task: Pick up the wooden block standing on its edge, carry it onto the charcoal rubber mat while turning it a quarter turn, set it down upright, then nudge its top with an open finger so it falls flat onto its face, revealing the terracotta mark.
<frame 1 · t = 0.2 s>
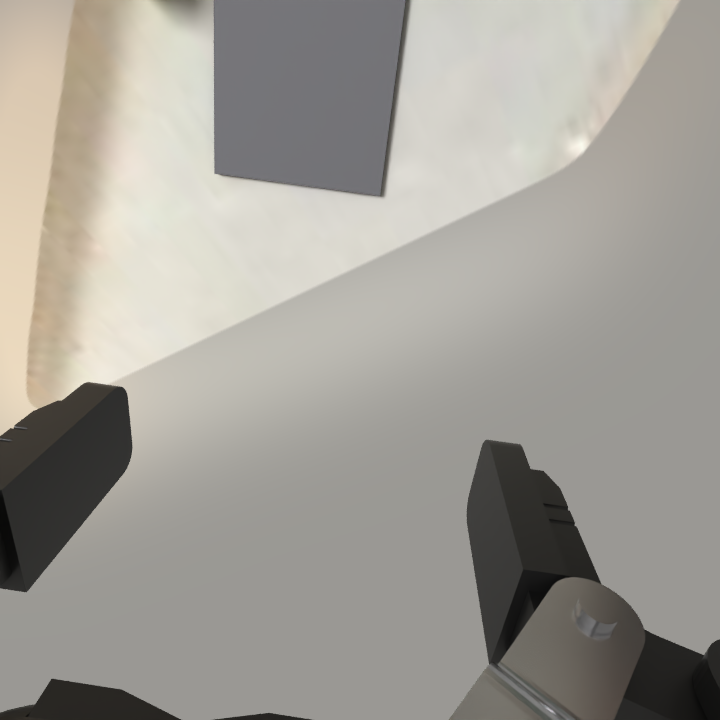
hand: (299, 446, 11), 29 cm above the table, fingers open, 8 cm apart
mat: (308, 20, 32), on the table
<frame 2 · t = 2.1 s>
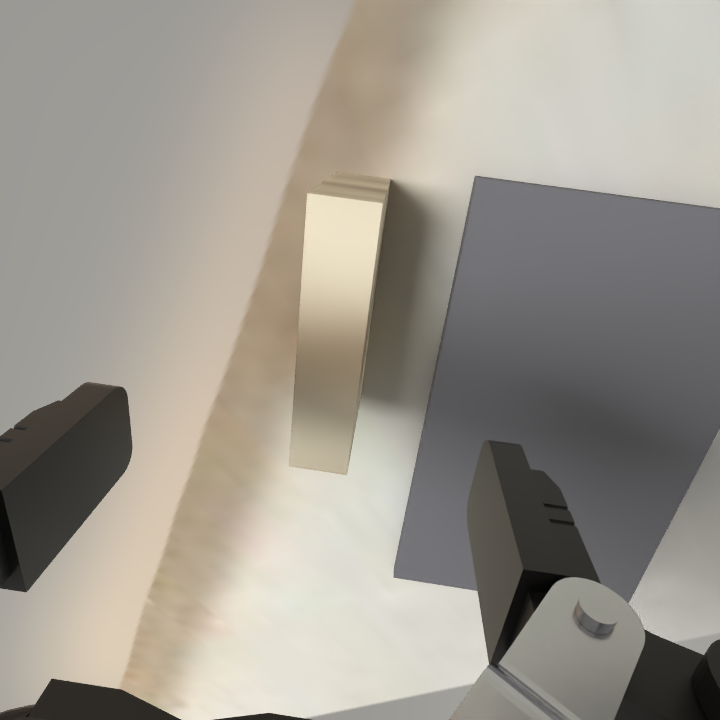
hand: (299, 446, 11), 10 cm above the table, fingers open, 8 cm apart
wooden block: (350, 291, 20), on the table
mat: (560, 430, 22), on the table
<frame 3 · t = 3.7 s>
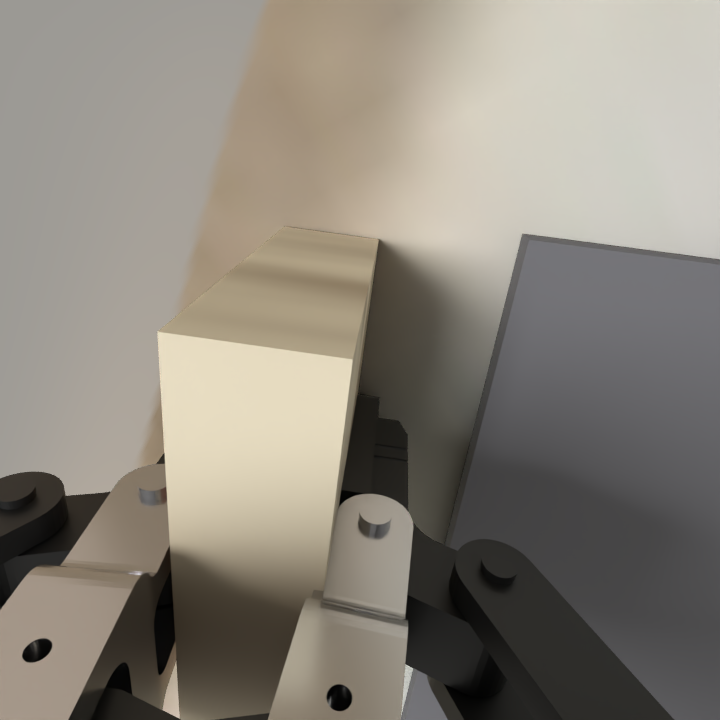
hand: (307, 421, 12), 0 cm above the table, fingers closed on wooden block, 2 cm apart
wooden block: (314, 415, 12), on the table, touching gripper
mat: (644, 613, 14), on the table
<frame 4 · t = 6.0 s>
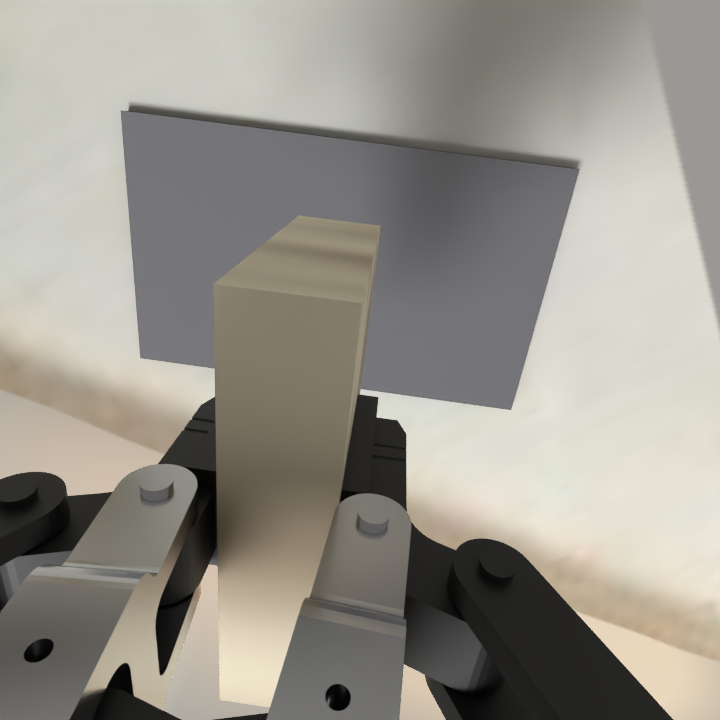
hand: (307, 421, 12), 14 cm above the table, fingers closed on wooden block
wooden block: (324, 384, 14), point 12 cm above the table, touching gripper
mat: (336, 271, 25), on the table
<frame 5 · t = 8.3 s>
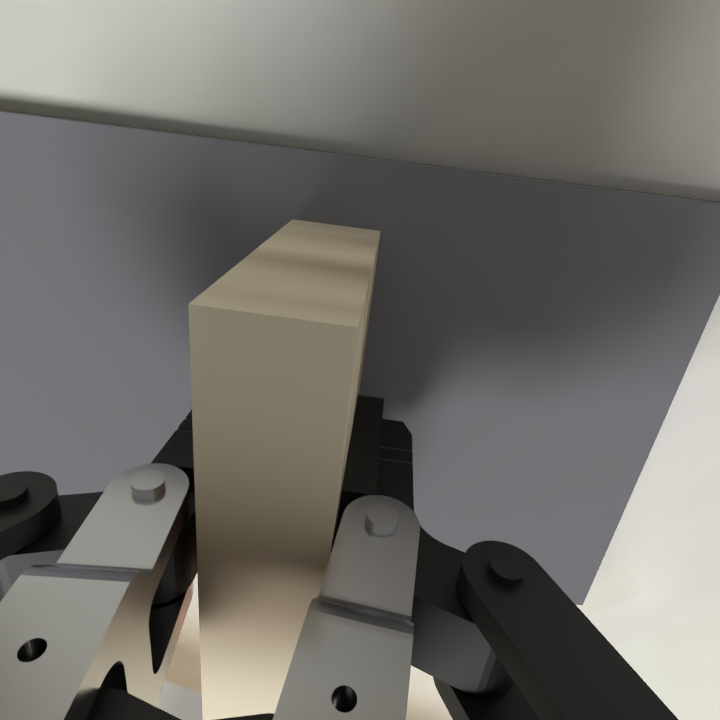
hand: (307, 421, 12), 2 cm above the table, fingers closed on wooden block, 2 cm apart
wooden block: (320, 398, 13), point 1 cm above the table, touching gripper, mat
mat: (277, 382, 14), on the table
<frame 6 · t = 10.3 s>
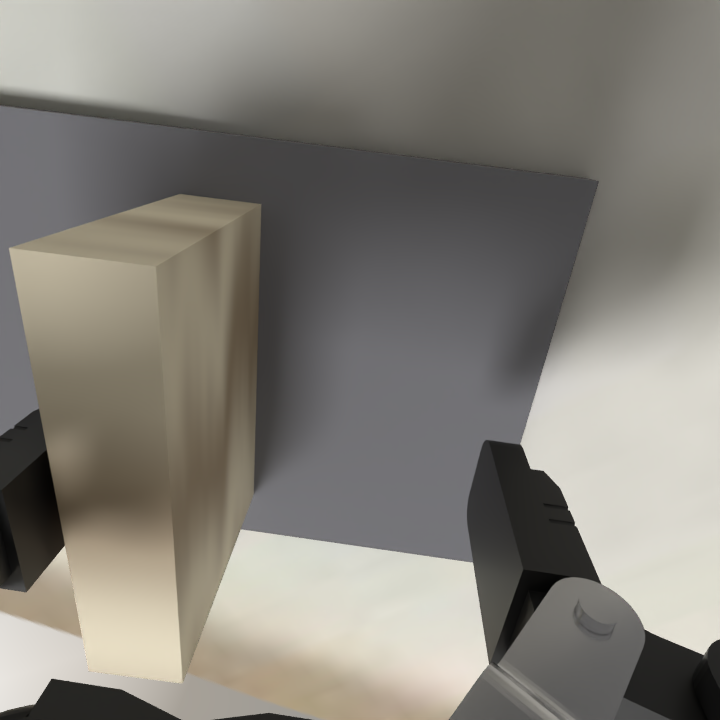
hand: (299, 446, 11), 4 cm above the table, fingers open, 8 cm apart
wooden block: (221, 364, 14), point 1 cm above the table, touching gripper, mat
mat: (185, 351, 15), on the table
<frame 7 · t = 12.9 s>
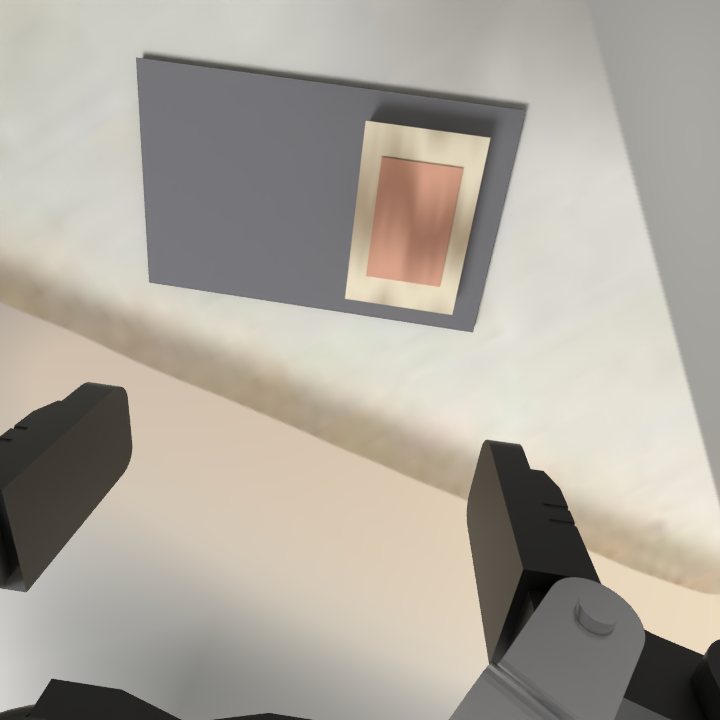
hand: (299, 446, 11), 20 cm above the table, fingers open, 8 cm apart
wooden block: (356, 213, 27), point 2 cm above the table, tilted 90°, touching mat
mat: (319, 204, 28), on the table
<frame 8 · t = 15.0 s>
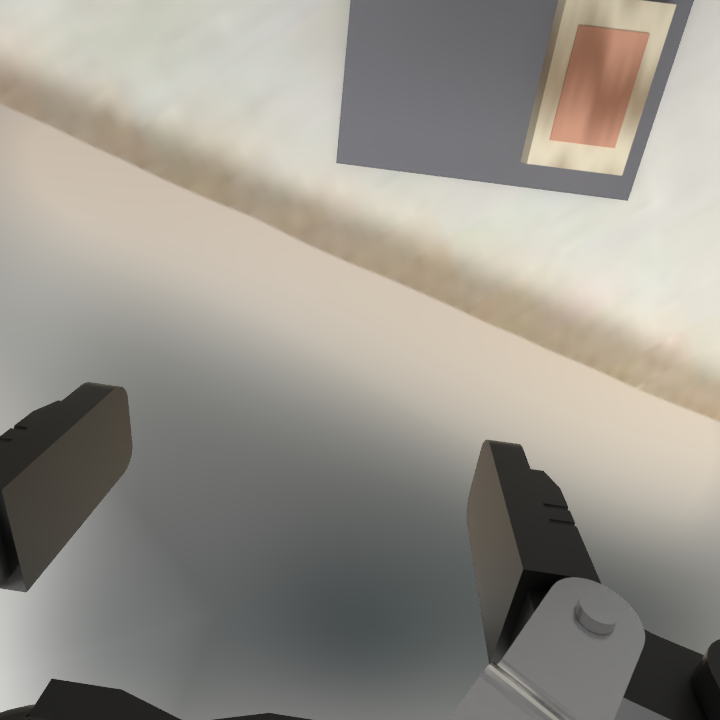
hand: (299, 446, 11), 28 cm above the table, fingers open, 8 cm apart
wooden block: (542, 84, 31), point 2 cm above the table, tilted 90°, touching mat
mat: (499, 82, 32), on the table
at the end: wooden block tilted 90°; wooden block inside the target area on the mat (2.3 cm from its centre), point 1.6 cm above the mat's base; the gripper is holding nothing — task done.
